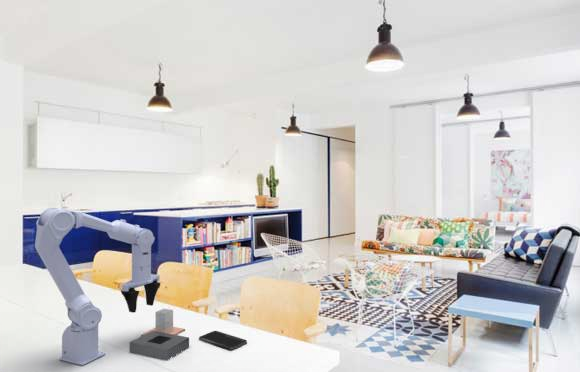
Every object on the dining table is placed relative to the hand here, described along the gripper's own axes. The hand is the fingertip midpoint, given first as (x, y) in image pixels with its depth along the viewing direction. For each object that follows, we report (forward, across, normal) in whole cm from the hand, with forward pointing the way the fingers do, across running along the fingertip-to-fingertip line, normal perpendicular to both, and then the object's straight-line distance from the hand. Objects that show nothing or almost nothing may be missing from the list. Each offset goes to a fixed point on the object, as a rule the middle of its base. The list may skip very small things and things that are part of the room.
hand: (141, 308), depth 127 cm
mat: (+10, +8, -2) cm, 13 cm away
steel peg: (+10, +8, -2) cm, 13 cm away
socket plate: (+10, -3, -10) cm, 15 cm away
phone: (+11, +10, -24) cm, 28 cm away
